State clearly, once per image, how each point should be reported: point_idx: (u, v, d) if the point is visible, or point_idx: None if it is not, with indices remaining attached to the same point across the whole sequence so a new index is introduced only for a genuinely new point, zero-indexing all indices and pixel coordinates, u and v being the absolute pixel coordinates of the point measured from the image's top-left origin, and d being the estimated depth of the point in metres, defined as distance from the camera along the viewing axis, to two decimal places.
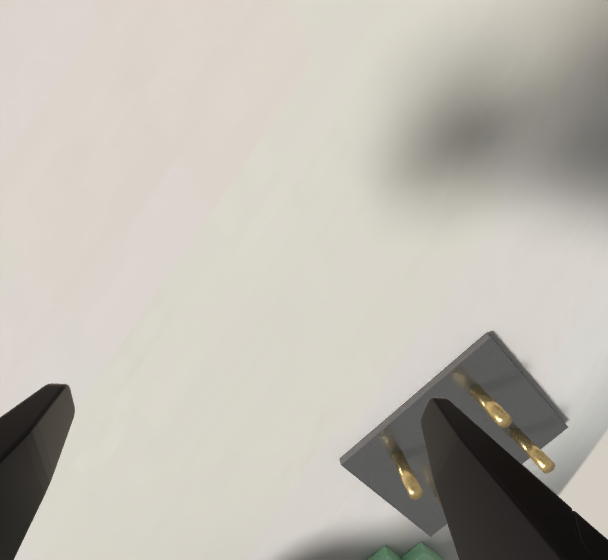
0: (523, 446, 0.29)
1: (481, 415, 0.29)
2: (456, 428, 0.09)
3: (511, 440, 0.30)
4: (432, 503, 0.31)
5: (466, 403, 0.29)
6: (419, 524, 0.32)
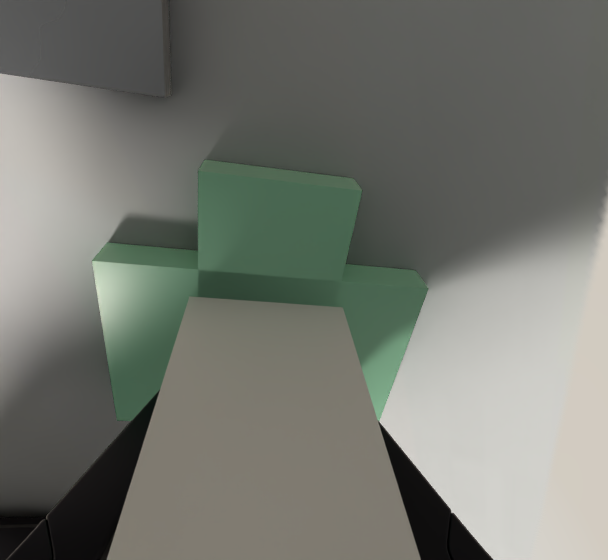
0: None
1: None
2: None
3: None
4: None
5: None
6: (58, 66, 0.07)
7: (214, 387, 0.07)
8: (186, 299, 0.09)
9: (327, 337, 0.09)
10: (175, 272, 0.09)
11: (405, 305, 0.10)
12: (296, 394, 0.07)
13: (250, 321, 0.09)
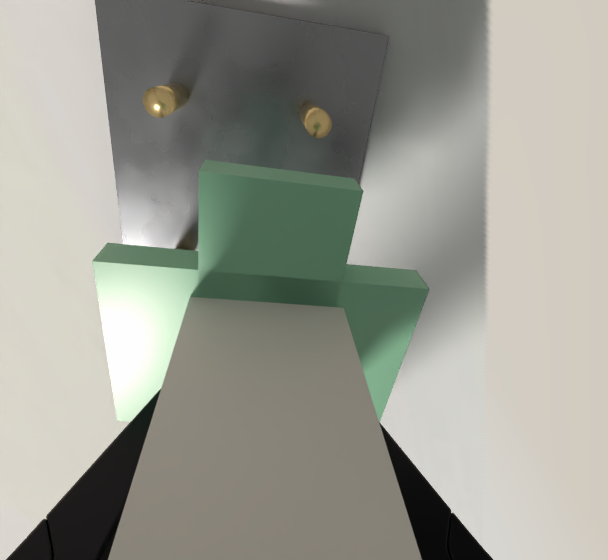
0: (303, 122, 0.16)
1: (225, 125, 0.17)
2: None
3: None
4: None
5: (183, 124, 0.17)
6: None
7: (215, 388, 0.07)
8: (186, 299, 0.09)
9: (328, 337, 0.09)
10: (175, 273, 0.09)
11: (406, 305, 0.10)
12: (297, 395, 0.07)
13: (251, 321, 0.09)
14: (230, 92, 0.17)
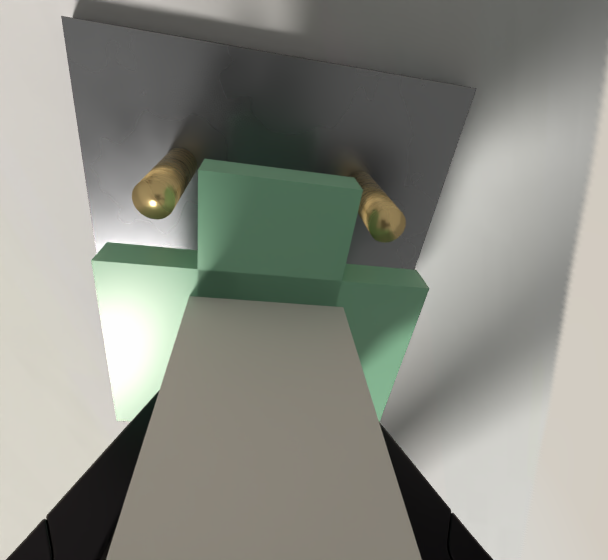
0: None
1: None
2: None
3: None
4: None
5: (189, 199, 0.13)
6: None
7: (214, 388, 0.07)
8: (186, 299, 0.09)
9: (327, 337, 0.09)
10: (174, 272, 0.09)
11: (406, 305, 0.10)
12: (296, 394, 0.07)
13: (250, 321, 0.09)
14: (254, 160, 0.12)
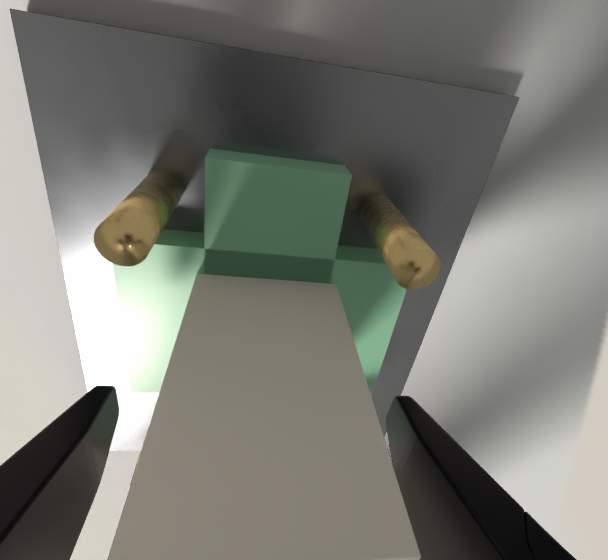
0: (373, 239, 0.10)
1: None
2: (415, 427, 0.08)
3: None
4: None
5: (175, 228, 0.11)
6: None
7: (220, 347, 0.08)
8: (194, 276, 0.10)
9: (321, 308, 0.10)
10: (183, 251, 0.10)
11: (393, 282, 0.11)
12: (292, 353, 0.08)
13: (252, 294, 0.10)
14: None
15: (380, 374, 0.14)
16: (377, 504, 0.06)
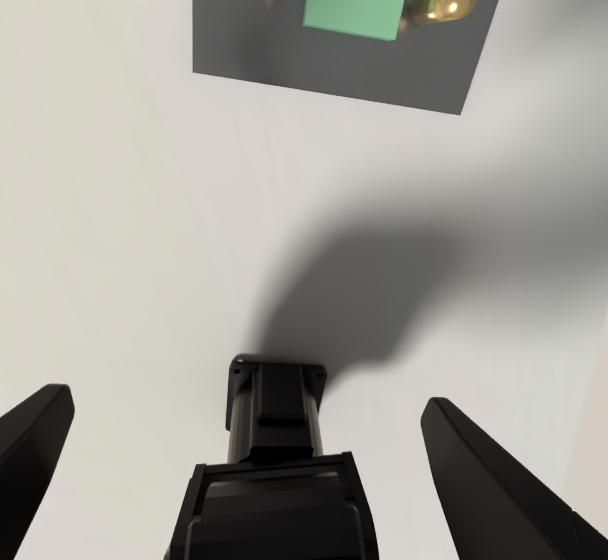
0: None
1: None
2: (456, 428, 0.09)
3: None
4: (417, 43, 0.16)
5: None
6: (423, 102, 0.17)
7: None
8: None
9: None
10: None
11: None
12: None
13: None
14: None
15: None
16: None
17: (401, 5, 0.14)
